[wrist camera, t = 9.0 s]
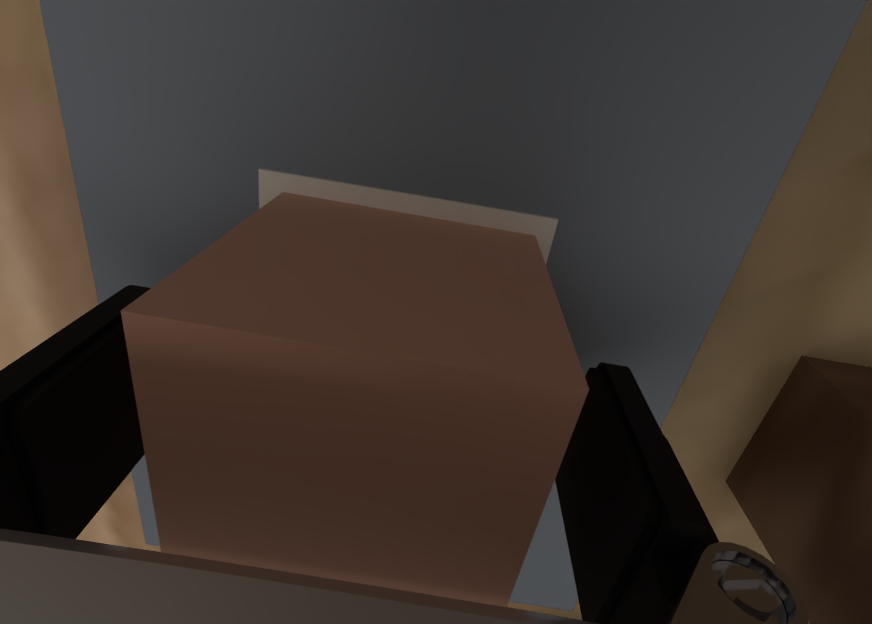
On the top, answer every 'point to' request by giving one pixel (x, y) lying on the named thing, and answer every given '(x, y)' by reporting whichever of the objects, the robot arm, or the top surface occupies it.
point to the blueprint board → (456, 147)
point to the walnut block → (816, 487)
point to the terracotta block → (356, 398)
